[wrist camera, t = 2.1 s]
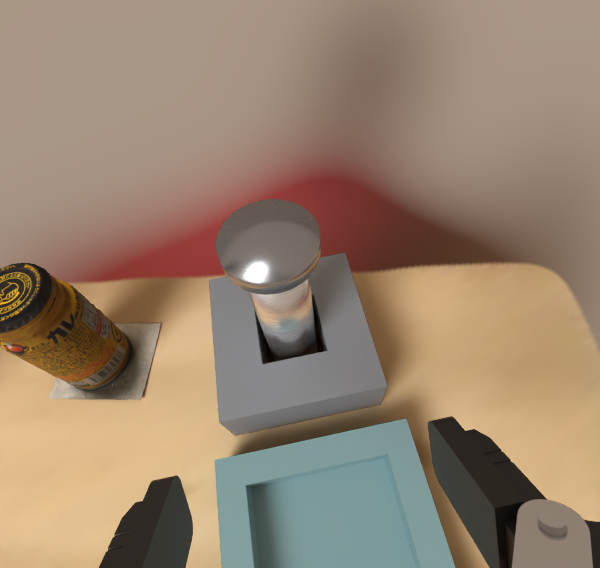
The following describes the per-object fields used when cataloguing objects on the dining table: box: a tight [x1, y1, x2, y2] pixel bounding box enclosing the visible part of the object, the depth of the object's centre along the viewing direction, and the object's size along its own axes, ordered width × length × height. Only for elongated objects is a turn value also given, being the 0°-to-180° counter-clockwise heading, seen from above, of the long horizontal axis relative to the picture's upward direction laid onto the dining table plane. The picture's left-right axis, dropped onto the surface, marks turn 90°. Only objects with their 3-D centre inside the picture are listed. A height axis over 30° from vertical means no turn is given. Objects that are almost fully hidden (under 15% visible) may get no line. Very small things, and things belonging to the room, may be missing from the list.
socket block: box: [209, 253, 387, 436], centre depth 32 cm, size 12×12×5 cm
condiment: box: [0, 263, 161, 400], centre depth 30 cm, size 7×8×12 cm
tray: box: [215, 419, 455, 568], centre depth 25 cm, size 14×14×3 cm
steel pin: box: [216, 199, 321, 362], centre depth 27 cm, size 6×6×16 cm
